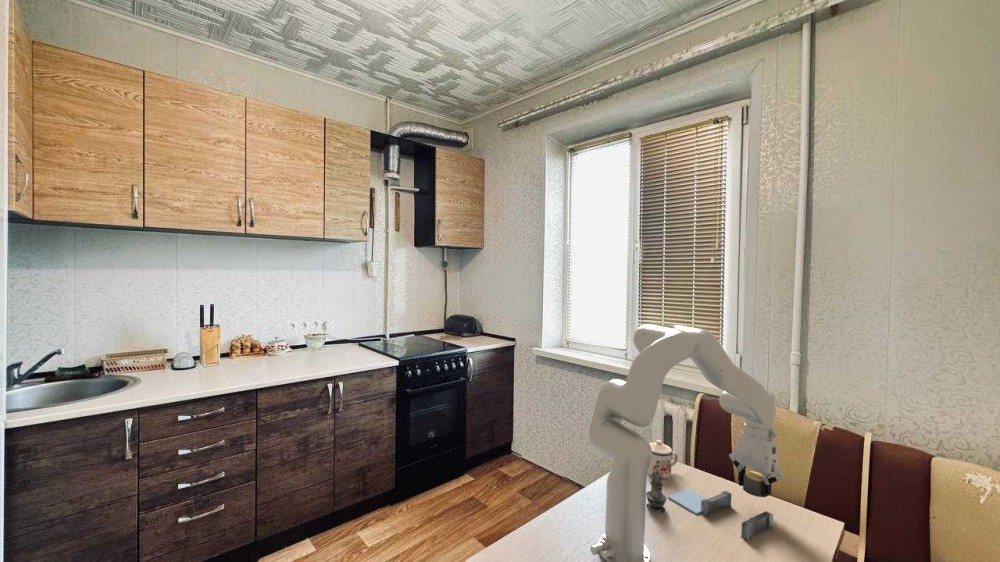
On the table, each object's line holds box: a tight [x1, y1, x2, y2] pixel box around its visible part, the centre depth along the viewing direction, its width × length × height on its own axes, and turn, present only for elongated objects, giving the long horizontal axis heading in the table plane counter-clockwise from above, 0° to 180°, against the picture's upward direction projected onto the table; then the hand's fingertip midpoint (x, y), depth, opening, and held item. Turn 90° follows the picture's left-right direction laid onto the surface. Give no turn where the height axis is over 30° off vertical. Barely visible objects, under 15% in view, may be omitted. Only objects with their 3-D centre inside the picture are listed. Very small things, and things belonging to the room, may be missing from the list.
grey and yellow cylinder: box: [742, 470, 764, 498], centre depth 120 cm, size 6×6×5 cm
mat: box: [667, 488, 707, 516], centre depth 125 cm, size 10×10×1 cm
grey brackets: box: [700, 490, 774, 542], centre depth 116 cm, size 12×14×4 cm
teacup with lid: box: [648, 439, 679, 479], centre depth 143 cm, size 12×9×12 cm
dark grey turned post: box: [646, 469, 668, 514], centre depth 121 cm, size 6×6×12 cm
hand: (753, 489), depth 120 cm, fingers closed on grey and yellow cylinder, 6 cm apart
